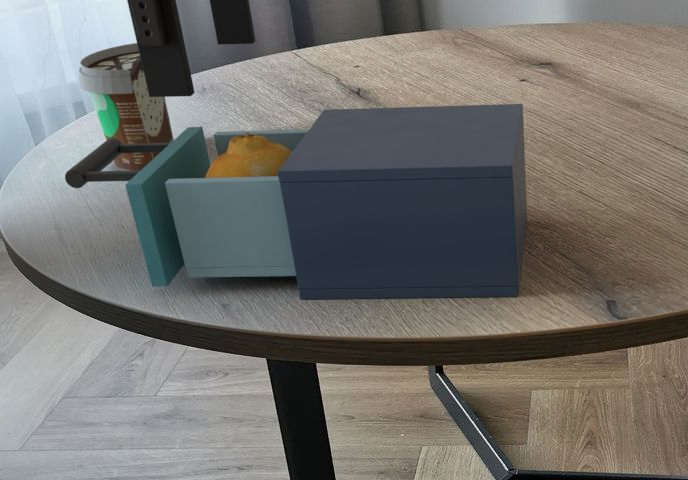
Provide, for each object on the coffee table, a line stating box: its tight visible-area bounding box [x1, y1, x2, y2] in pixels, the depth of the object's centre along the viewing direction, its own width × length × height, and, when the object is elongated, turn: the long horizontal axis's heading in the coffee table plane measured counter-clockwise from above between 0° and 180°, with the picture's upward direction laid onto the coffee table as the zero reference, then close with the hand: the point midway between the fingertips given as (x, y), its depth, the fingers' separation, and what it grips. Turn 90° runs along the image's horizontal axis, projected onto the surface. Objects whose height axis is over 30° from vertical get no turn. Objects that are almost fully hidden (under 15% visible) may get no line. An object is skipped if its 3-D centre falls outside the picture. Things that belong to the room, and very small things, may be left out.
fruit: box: [205, 133, 292, 178], centre depth 71 cm, size 8×8×8 cm
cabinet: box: [278, 103, 528, 300], centre depth 71 cm, size 16×14×10 cm
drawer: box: [64, 126, 310, 287], centre depth 72 cm, size 20×12×8 cm, turn 86°
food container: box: [78, 42, 175, 171], centre depth 95 cm, size 12×6×10 cm, turn 6°
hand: (207, 67), depth 67 cm, fingers open, 13 cm apart
